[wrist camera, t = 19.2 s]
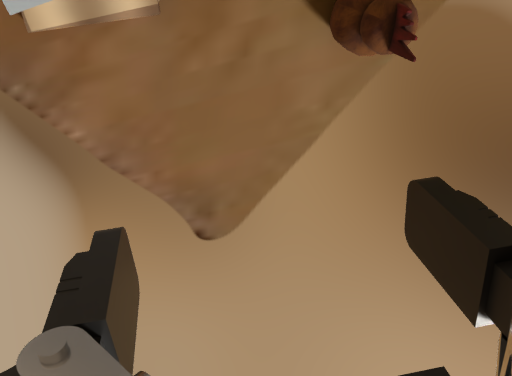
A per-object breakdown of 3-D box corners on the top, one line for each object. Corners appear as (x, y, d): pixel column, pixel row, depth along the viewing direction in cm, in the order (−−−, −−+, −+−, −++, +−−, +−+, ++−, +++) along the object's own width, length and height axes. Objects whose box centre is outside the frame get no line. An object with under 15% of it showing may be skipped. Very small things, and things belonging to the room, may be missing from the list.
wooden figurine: (358, 54, 50) (425, 90, 37) (313, 32, 48) (366, 61, 35) (390, -7, 48) (474, 7, 35) (344, -33, 46) (414, -27, 33)
